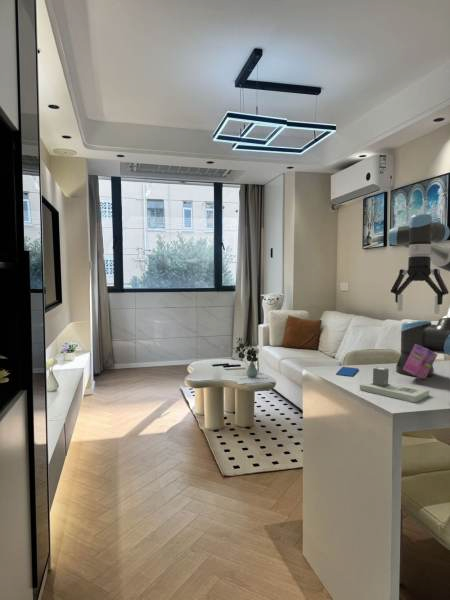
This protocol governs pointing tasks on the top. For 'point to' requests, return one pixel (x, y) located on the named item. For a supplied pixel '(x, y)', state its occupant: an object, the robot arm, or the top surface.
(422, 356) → the box
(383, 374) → the block
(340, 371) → the smartphone
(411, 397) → the outlet plate
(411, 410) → the top surface
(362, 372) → the top surface
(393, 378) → the top surface
